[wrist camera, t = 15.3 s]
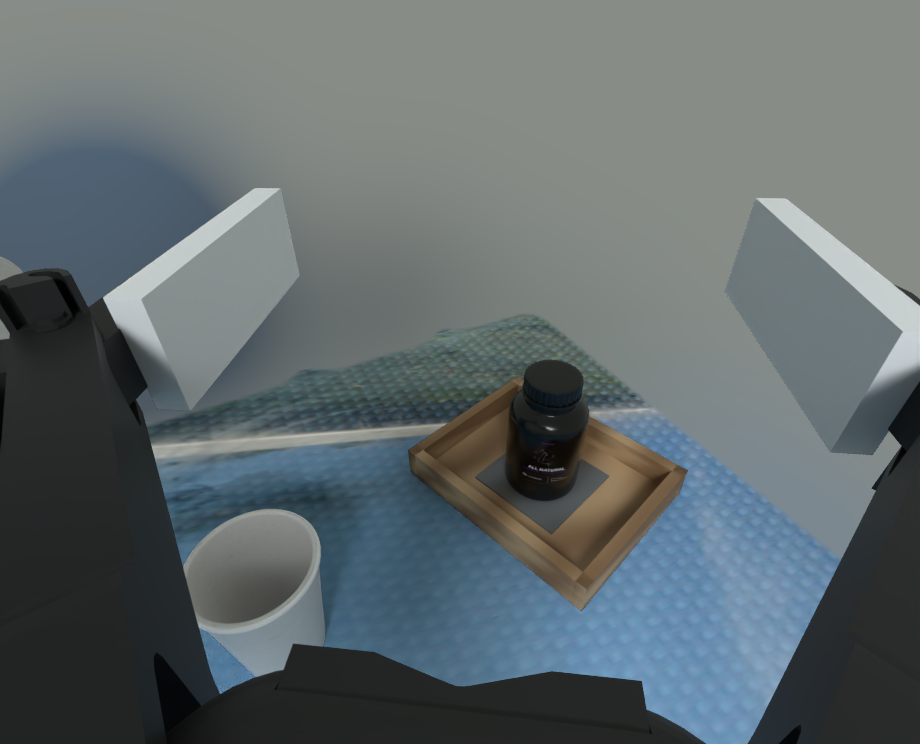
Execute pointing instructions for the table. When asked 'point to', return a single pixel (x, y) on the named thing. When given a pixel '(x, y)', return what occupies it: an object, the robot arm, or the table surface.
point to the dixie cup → (259, 587)
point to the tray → (559, 521)
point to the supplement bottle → (546, 431)
